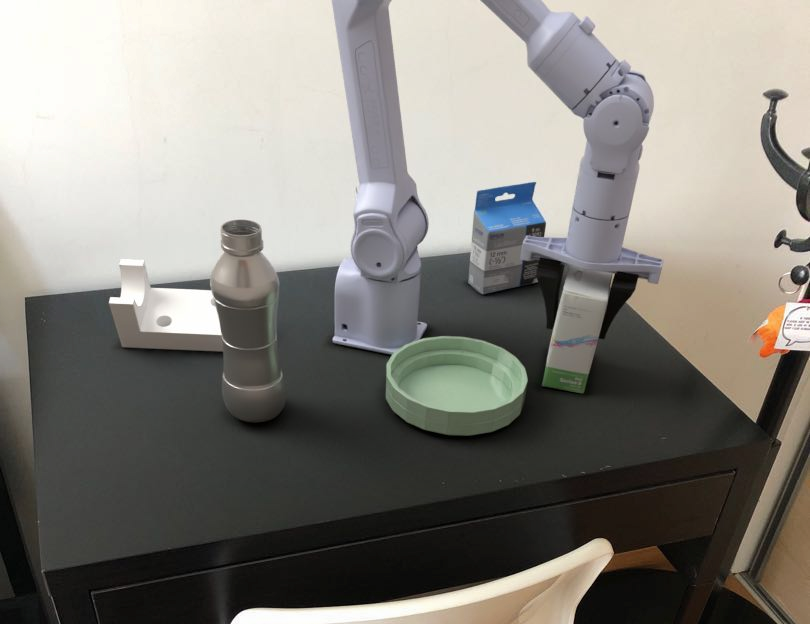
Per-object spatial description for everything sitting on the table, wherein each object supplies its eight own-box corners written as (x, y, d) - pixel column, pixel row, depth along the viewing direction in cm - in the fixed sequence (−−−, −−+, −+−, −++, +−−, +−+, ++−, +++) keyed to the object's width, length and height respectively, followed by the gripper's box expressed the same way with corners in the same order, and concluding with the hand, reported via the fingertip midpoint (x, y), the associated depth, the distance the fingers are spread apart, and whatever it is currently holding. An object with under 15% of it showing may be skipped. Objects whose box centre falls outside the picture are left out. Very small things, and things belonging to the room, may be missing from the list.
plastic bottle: (261, 438, 91) (247, 250, 78) (210, 415, 94) (188, 229, 80) (300, 409, 96) (293, 225, 82) (250, 388, 98) (235, 206, 85)
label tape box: (481, 296, 116) (492, 201, 108) (465, 282, 119) (475, 189, 111) (538, 284, 120) (553, 191, 111) (521, 271, 122) (535, 180, 114)
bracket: (123, 353, 104) (108, 303, 97) (134, 309, 108) (120, 259, 101) (237, 357, 104) (229, 308, 98) (243, 314, 108) (236, 264, 102)
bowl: (366, 422, 94) (367, 394, 92) (408, 352, 105) (409, 325, 103) (506, 453, 92) (510, 424, 89) (534, 378, 102) (539, 351, 100)
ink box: (549, 349, 107) (567, 255, 99) (592, 357, 106) (614, 263, 98) (540, 387, 101) (559, 290, 93) (586, 396, 100) (609, 298, 92)
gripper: (677, 206, 92) (646, 325, 101) (537, 183, 95) (520, 301, 104) (671, 233, 87) (639, 356, 96) (524, 208, 90) (507, 330, 99)
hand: (576, 330), depth 100 cm, fingers closed on ink box, 5 cm apart
